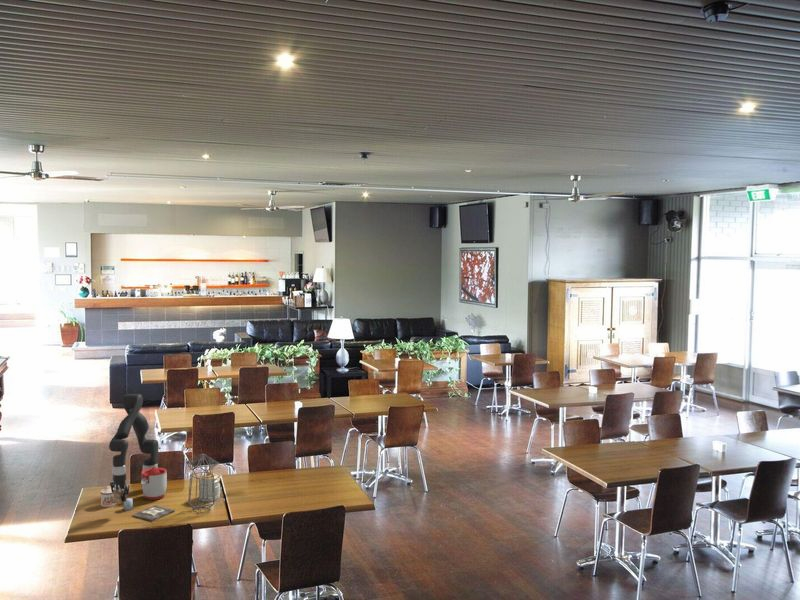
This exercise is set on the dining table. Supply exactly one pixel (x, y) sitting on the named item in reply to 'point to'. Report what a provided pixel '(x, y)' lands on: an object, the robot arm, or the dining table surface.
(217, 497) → the jar
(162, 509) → the building board
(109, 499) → the teacup with lid
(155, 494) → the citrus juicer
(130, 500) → the pale blue rounded ovoid
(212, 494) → the geometric lantern
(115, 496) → the walnut block
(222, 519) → the dining table surface
